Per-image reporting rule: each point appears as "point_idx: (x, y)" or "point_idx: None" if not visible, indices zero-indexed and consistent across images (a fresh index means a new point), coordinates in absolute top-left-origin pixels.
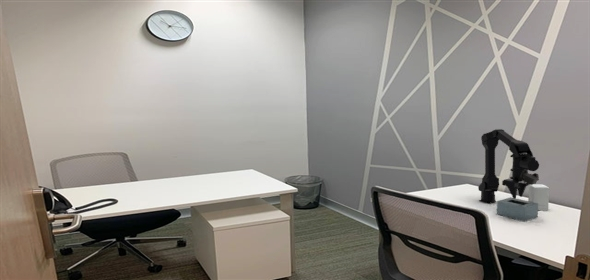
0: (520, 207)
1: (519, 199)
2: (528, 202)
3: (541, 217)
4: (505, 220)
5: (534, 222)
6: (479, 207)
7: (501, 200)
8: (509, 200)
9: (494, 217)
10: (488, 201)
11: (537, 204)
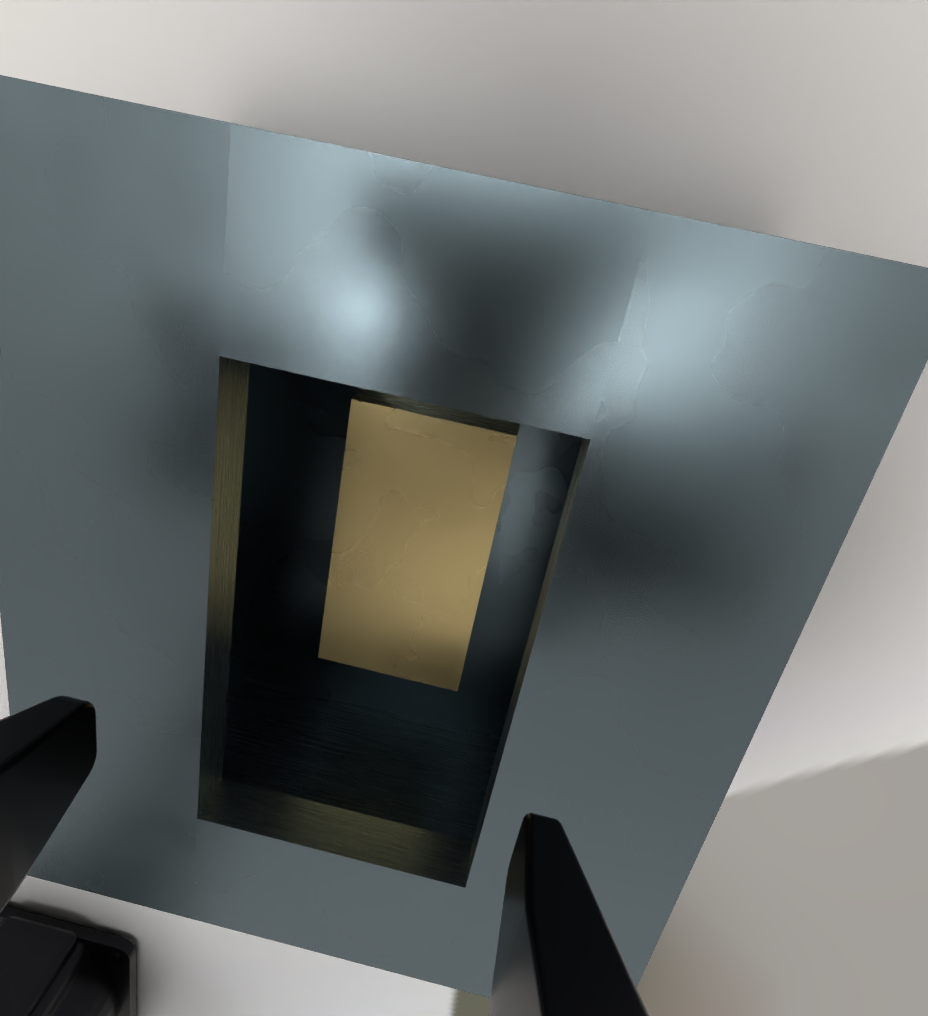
0: (872, 445)
1: (30, 682)
2: (122, 397)
3: (188, 50)
4: (916, 572)
5: (703, 39)
6: (415, 993)
7: (487, 974)
8: (319, 843)
9: (825, 753)
10: (96, 973)
11: (29, 84)
